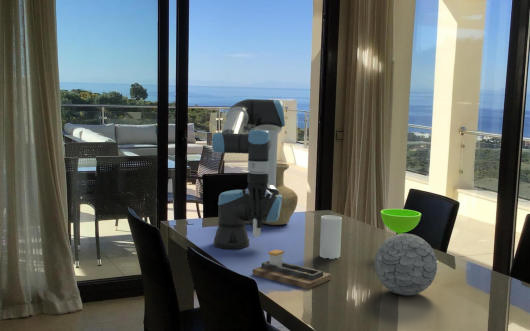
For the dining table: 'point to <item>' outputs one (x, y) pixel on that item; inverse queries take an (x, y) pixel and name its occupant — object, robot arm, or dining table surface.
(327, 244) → the cup
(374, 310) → the dining table surface
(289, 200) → the vase
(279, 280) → the wooden tray
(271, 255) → the fader knob
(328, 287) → the dining table surface
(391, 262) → the decorative sphere
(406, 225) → the wineglass
